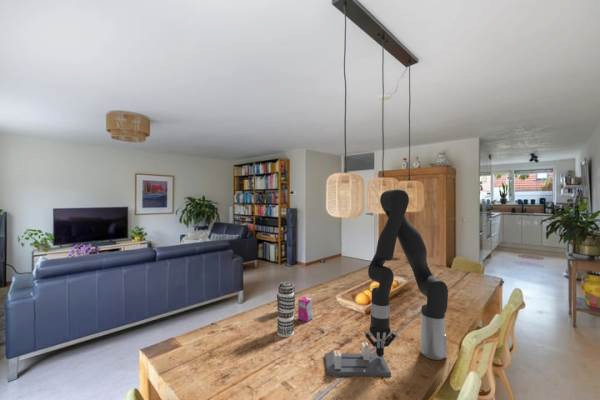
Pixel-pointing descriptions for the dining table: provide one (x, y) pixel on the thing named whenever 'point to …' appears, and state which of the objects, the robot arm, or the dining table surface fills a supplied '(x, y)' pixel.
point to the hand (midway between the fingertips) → (379, 355)
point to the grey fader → (337, 359)
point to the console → (357, 365)
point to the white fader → (365, 351)
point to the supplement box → (305, 309)
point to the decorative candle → (285, 309)
